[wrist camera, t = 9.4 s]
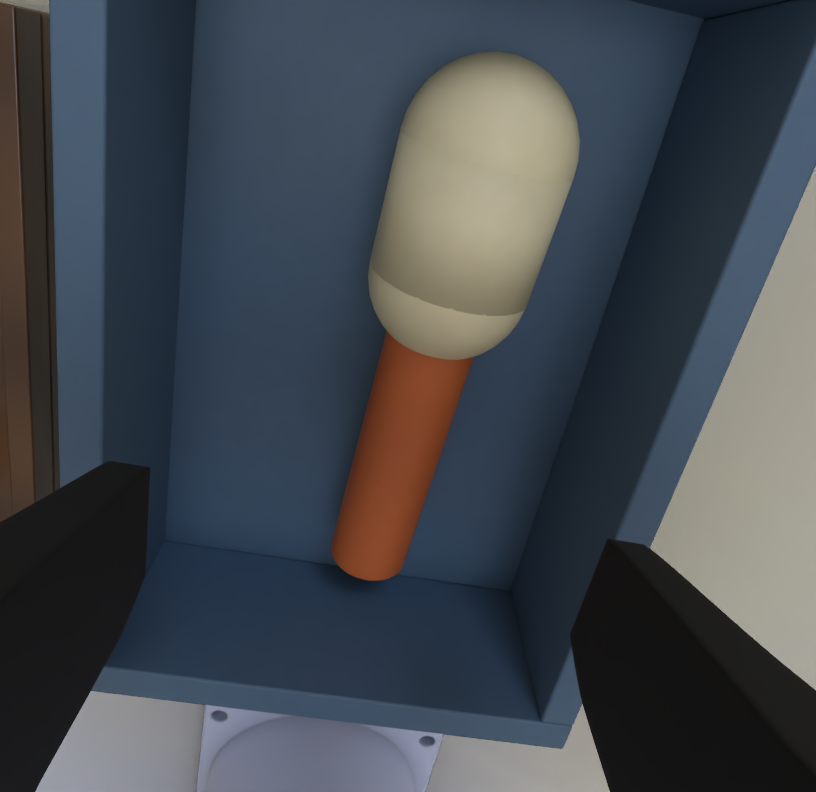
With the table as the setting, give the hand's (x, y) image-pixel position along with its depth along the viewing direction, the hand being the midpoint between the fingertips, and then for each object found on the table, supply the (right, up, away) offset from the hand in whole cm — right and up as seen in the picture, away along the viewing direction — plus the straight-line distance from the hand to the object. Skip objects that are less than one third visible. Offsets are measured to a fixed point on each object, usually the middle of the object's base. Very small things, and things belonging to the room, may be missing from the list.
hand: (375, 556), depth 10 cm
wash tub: (0, +5, +6) cm, 8 cm away
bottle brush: (+1, +4, +4) cm, 6 cm away
